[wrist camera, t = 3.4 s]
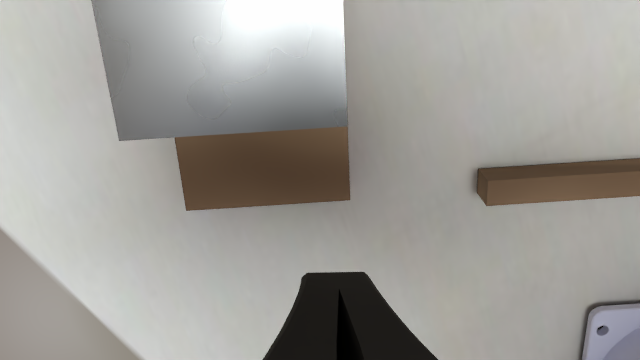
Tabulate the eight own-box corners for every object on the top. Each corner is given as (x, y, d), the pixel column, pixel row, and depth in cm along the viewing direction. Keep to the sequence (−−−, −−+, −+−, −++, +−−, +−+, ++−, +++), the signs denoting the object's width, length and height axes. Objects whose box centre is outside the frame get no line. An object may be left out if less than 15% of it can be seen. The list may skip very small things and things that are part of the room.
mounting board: (347, 189, 22) (350, 200, 21) (190, 199, 22) (186, 210, 21) (331, -255, 16) (332, -267, 16) (122, -244, 16) (112, -255, 15)
